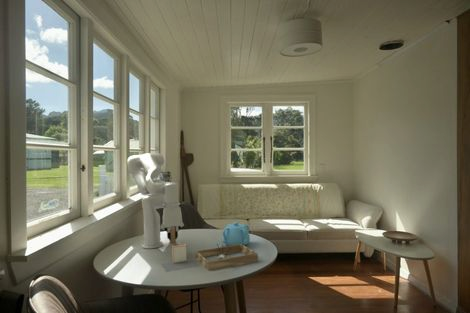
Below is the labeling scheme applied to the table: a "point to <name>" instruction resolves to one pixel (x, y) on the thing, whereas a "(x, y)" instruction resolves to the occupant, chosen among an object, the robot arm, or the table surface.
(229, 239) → the decorative pot
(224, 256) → the reed diffuser
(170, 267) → the mat
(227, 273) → the table surface
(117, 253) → the table surface
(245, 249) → the wooden frame
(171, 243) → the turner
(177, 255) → the tile
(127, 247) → the table surface
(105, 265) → the table surface
